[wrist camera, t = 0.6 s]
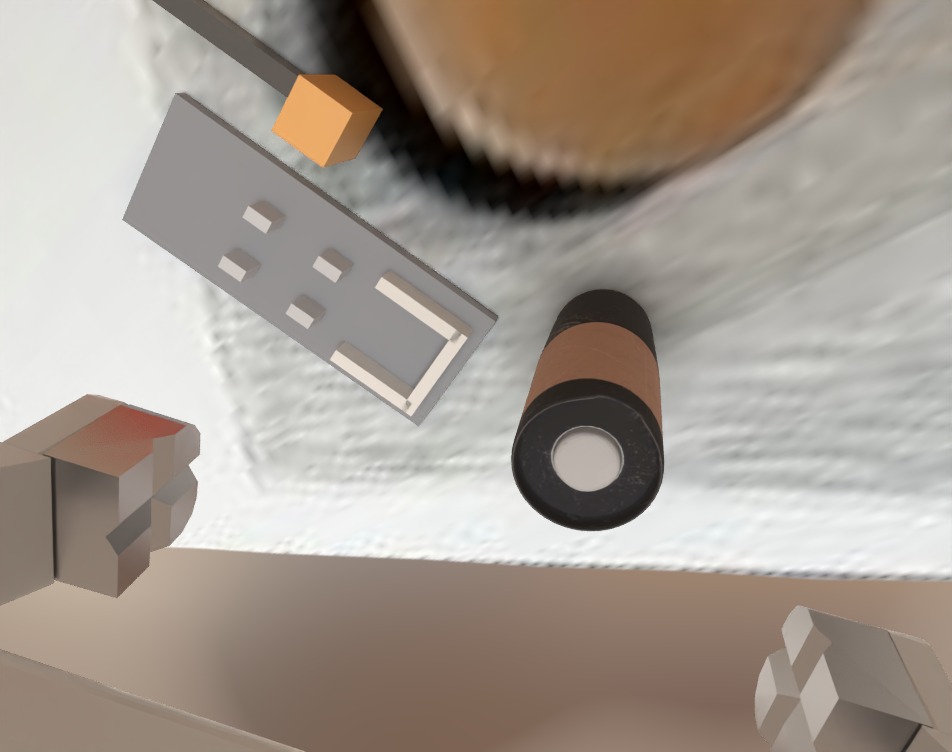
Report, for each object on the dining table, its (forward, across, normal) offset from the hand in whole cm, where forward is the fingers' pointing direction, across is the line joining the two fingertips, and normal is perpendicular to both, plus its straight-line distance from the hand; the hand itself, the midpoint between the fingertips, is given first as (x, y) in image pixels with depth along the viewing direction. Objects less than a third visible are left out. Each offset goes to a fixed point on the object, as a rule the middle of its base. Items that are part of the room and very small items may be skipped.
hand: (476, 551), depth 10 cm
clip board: (+44, +19, +12) cm, 49 cm away
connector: (+44, +24, -2) cm, 50 cm away
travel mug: (+44, -3, +11) cm, 45 cm away
